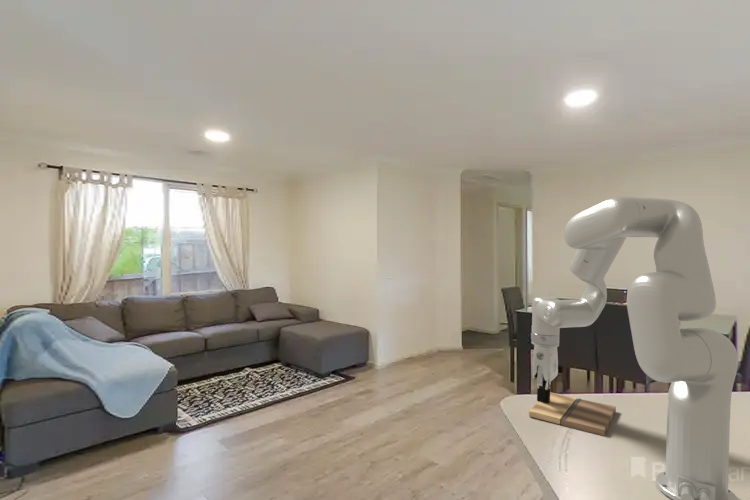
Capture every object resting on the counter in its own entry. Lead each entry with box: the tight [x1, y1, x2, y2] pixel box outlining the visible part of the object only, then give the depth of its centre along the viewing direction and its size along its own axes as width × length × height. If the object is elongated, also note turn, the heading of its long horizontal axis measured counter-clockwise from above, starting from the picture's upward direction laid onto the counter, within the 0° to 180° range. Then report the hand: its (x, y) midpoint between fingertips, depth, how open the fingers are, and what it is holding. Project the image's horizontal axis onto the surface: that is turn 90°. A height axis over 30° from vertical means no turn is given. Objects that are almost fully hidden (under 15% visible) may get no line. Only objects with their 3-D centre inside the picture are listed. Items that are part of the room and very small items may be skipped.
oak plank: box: [528, 391, 578, 425], centre depth 122 cm, size 20×8×2 cm, turn 143°
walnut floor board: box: [560, 398, 617, 437], centre depth 116 cm, size 20×10×2 cm, turn 143°
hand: (543, 401), depth 124 cm, fingers closed
